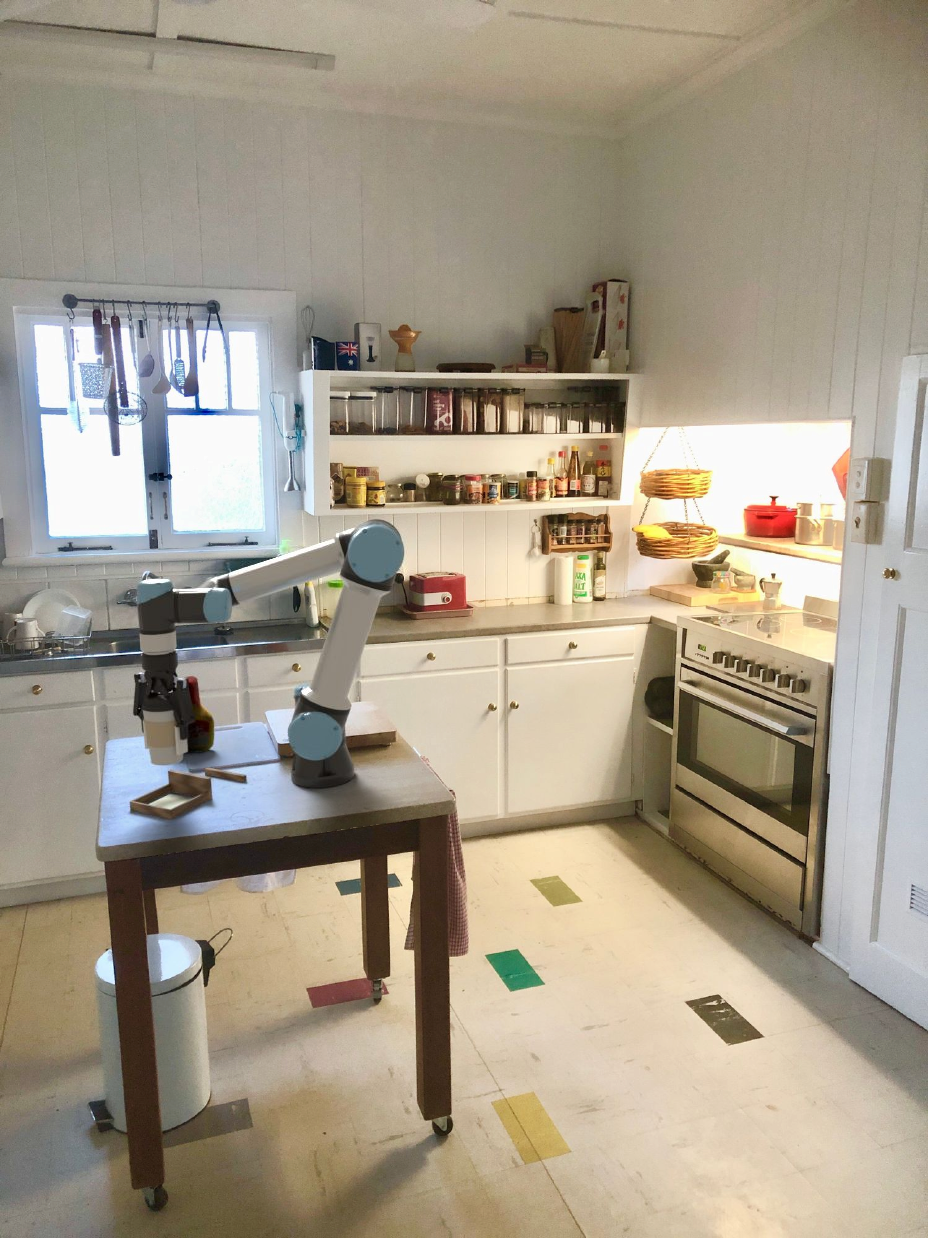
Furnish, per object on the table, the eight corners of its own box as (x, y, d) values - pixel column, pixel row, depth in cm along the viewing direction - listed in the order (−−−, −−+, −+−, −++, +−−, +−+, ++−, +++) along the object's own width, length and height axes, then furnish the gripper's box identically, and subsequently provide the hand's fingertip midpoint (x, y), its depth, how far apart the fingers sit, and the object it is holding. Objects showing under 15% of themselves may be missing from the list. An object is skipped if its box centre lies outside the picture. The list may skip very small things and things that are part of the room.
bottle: (218, 746, 251) (213, 673, 247) (211, 755, 245) (206, 680, 241) (173, 747, 251) (168, 674, 247) (165, 755, 245) (160, 680, 241)
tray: (212, 798, 216) (210, 777, 215) (171, 819, 205) (169, 797, 204) (172, 790, 221) (170, 769, 220) (130, 810, 210) (128, 788, 209)
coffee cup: (195, 754, 214) (191, 690, 211) (175, 768, 205) (170, 701, 202) (159, 752, 216) (154, 688, 213) (137, 765, 208) (132, 699, 205)
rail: (246, 780, 227) (246, 775, 226) (243, 782, 226) (243, 776, 225) (207, 773, 232) (207, 767, 232) (205, 774, 231) (204, 768, 231)
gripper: (208, 651, 204) (215, 752, 209) (135, 642, 214) (143, 738, 218) (184, 659, 198) (191, 762, 202) (109, 649, 207) (118, 748, 212)
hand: (166, 750), depth 210 cm, fingers closed on coffee cup, 9 cm apart
